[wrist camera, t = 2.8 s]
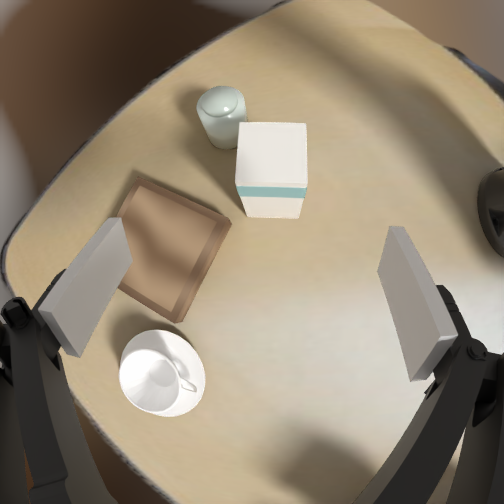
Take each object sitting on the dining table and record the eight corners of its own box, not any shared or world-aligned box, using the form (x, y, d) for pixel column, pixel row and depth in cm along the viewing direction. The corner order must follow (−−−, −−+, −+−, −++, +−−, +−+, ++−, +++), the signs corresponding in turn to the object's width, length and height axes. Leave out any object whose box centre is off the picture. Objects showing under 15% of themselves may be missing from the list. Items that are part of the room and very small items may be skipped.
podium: (146, 184, 41) (138, 176, 38) (231, 224, 39) (228, 218, 36) (101, 271, 39) (90, 269, 36) (182, 321, 37) (174, 323, 34)
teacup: (209, 417, 35) (199, 433, 30) (128, 406, 36) (110, 418, 31) (206, 330, 37) (195, 335, 32) (122, 325, 38) (103, 328, 33)
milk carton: (299, 171, 39) (306, 123, 27) (298, 219, 38) (307, 184, 26) (249, 170, 40) (239, 121, 28) (247, 217, 39) (234, 182, 27)
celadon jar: (220, 110, 42) (210, 76, 34) (256, 122, 41) (252, 88, 33) (200, 141, 41) (185, 110, 33) (237, 155, 40) (228, 124, 32)
